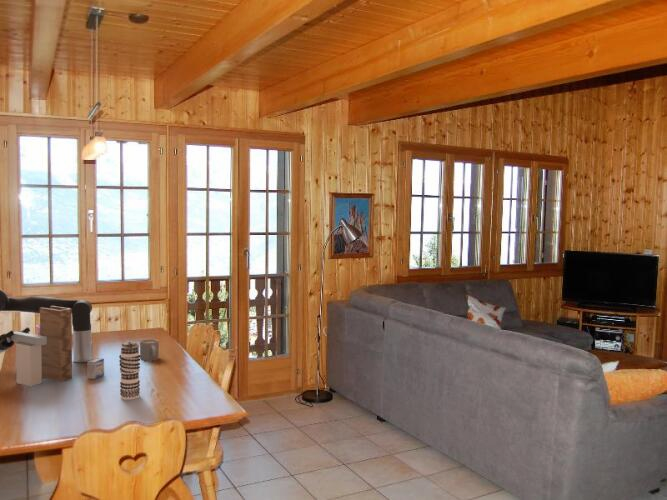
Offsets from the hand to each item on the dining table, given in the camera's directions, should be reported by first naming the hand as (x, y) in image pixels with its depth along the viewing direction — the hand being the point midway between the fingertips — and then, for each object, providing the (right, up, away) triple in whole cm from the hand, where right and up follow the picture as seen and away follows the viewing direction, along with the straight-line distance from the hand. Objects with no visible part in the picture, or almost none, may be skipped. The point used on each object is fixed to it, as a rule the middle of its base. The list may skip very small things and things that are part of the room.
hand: (21, 330), depth 292 cm
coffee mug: (+48, -23, +48) cm, 71 cm away
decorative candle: (+58, -28, -16) cm, 66 cm away
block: (+4, -25, 0) cm, 26 cm away
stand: (+13, -25, +9) cm, 29 cm away
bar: (+4, -5, -2) cm, 7 cm away
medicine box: (+31, -25, +13) cm, 42 cm away
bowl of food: (-20, -18, +79) cm, 84 cm away
